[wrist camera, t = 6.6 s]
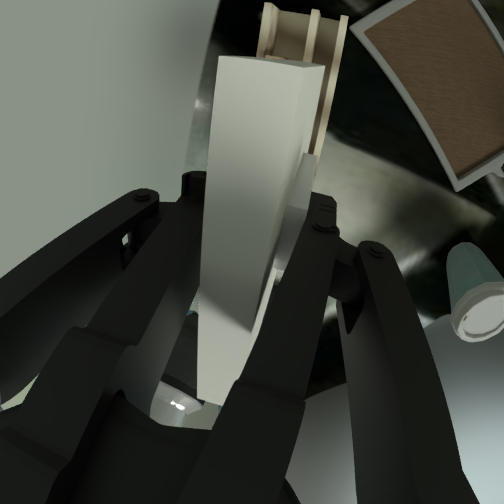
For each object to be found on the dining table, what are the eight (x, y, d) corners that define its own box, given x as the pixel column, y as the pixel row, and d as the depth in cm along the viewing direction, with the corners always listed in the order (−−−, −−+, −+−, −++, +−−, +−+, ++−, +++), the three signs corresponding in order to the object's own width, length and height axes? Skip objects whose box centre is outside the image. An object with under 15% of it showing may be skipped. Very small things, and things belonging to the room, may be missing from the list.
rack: (312, 185, 46) (308, 205, 40) (250, 171, 47) (237, 189, 41) (346, 23, 32) (348, 16, 26) (275, 11, 33) (264, 2, 27)
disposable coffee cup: (497, 239, 42) (532, 298, 30) (472, 288, 48) (495, 351, 36) (447, 224, 43) (477, 285, 31) (424, 278, 50) (440, 344, 38)
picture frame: (453, -33, 21) (550, 151, 30) (450, -30, 23) (545, 148, 32) (348, 26, 31) (462, 207, 40) (347, 28, 33) (459, 202, 42)
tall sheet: (299, 191, 30) (234, 409, 12) (282, 188, 30) (197, 397, 12) (325, 65, 23) (303, 68, 5) (306, 61, 23) (218, 55, 5)
